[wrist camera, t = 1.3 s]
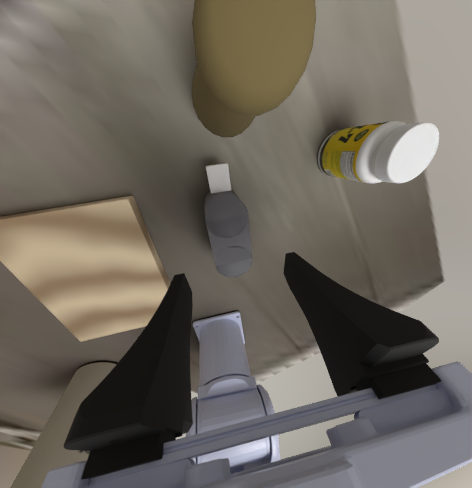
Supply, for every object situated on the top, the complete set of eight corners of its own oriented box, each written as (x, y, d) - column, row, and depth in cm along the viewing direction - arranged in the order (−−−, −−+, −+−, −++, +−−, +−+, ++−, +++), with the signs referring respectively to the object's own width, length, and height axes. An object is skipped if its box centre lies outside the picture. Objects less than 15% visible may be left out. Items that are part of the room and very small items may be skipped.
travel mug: (96, 389, 32) (1, 607, 17) (64, 370, 28) (-100, 634, 13) (136, 375, 33) (79, 578, 17) (110, 354, 29) (4, 595, 13)
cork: (228, 151, 18) (262, 152, 8) (177, 99, 15) (138, 9, 5) (270, 98, 16) (371, 22, 7) (221, 29, 13) (273, -262, 4)
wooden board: (181, 310, 27) (180, 318, 26) (86, 331, 25) (80, 341, 24) (133, 195, 18) (127, 198, 17) (-17, 219, 17) (-35, 225, 15)
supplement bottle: (354, 121, 18) (455, 102, 11) (354, 166, 21) (437, 174, 14) (313, 139, 19) (386, 132, 11) (318, 181, 21) (380, 197, 14)
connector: (243, 250, 24) (253, 272, 19) (215, 256, 23) (218, 280, 19) (233, 160, 18) (243, 163, 14) (195, 165, 18) (193, 170, 13)
